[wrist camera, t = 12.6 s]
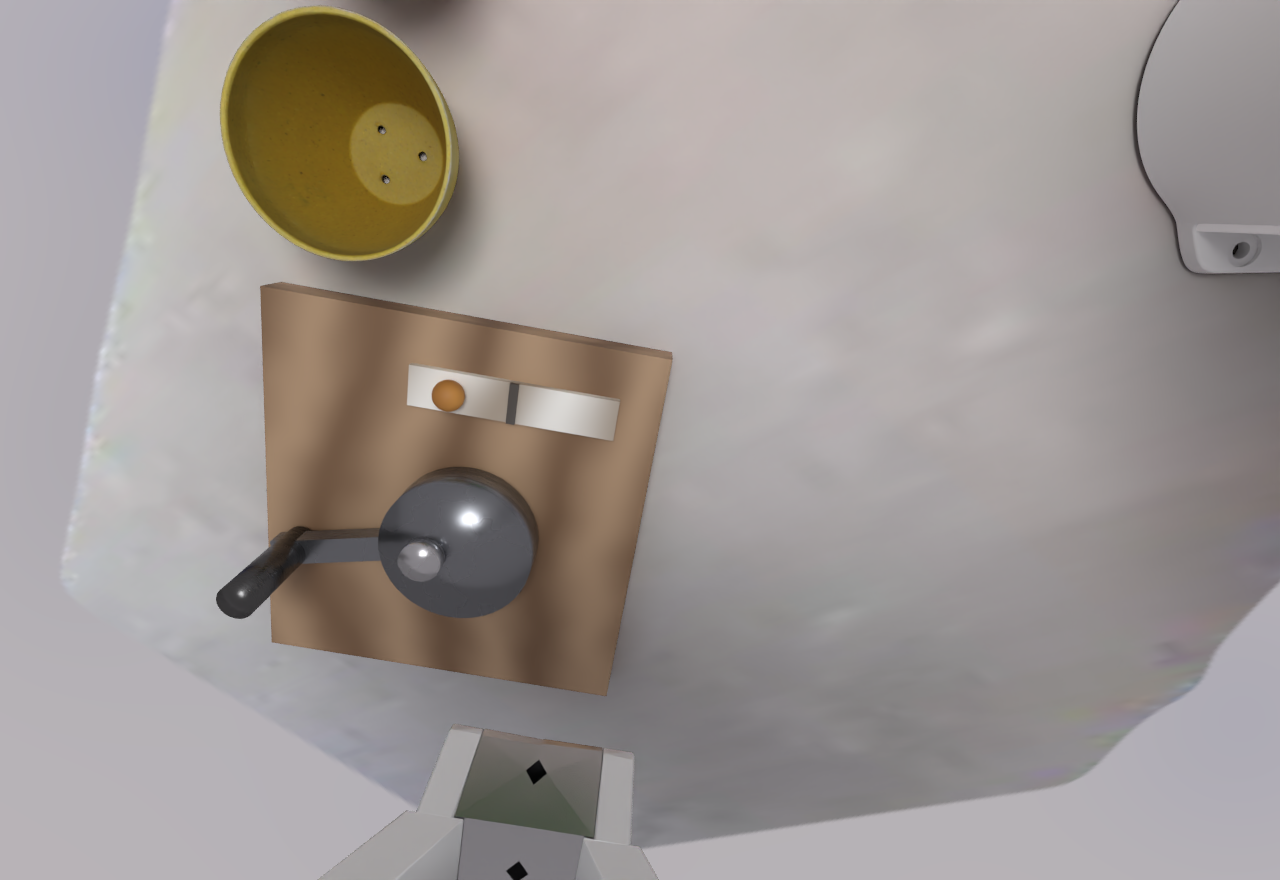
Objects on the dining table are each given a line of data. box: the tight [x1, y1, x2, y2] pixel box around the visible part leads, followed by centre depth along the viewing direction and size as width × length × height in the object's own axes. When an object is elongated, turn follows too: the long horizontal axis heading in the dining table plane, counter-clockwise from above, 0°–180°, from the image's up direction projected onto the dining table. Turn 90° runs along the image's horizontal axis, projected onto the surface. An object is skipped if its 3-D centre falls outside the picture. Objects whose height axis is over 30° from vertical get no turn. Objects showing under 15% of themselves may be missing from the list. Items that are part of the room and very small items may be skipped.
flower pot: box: [220, 5, 459, 261], centre depth 31 cm, size 10×10×7 cm
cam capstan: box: [216, 467, 539, 619], centre depth 36 cm, size 16×9×7 cm, turn 94°
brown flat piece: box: [260, 282, 672, 696], centre depth 39 cm, size 23×24×4 cm
